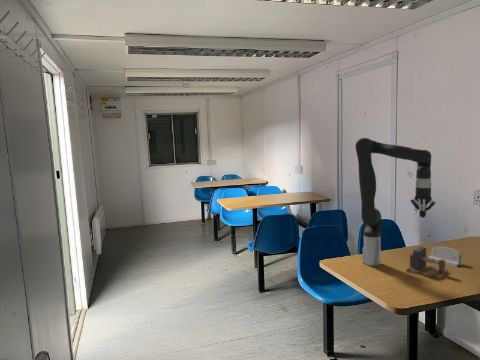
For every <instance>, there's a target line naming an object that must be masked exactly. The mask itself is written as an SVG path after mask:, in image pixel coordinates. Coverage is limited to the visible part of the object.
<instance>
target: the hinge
mask: <svg viewBox="0 0 480 360" xmlns="http://www.w3.org/2000/svg"><path fill="white" fill-rule="evenodd" d="M428 258H433V259H438V260H441V259H443V260H445V266H446V265H447V266H450V267H454V268H458V266H462V253H461V252H460V251H458V250H457V249H455V248H451V247H448V246H442V245H441V246H433V247H432V248H431V250H430V254H429V256H428Z"/></svg>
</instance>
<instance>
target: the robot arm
mask: <svg viewBox="0 0 480 360" xmlns="http://www.w3.org/2000/svg"><path fill="white" fill-rule="evenodd" d="M355 151H356V157H357V162H358V181H359V191H360V201H361V215H360V216H361V220H362V223H363V224H364V225H365V227H364V230H363V247H362V263H363V264H365V265H367V266H372V267H374V266H375V267H377V266H380V265H381V264H382V262H381V261H382V260H381V259H382V256H381V255H382V254H381V253H382V251H381V232H382V213H381V212H380V210H379V209H377V208H376V205H375V198H376V193H377V178H376V173H375V170H374V169H375V168H374V165H373V161H372V154H378V155H383V156H384V155H385V156H387V157H391V158H395V159H400V160H404V161H405V160H407V161H410V162H415V163H416V176H415V177H416V179H415V196H414V198H413V199H411V200H410V203H411V204H412V205H413V206H414V208H415V209H416V210H418V211H419V217H420V218H423V219H425V218H426V216H427V211H429V210H431V209H432V208H433V207H434V206H435V205H436V204H437V202H436V201H435V200H433V199H432V171H431V170H432V169H431V168H432V167H431V166H432V153H431V151H429V150H427V149H416V148H412V147H408V146H403V145H397V144H396V145H395V144H389V143H383V142H379V141H376V140H372V139H370V138H368V137H362V138H359V139H358V140H357V141H356V143H355ZM428 204H429V205H428Z"/></svg>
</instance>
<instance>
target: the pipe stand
mask: <svg viewBox="0 0 480 360" xmlns="http://www.w3.org/2000/svg"><path fill="white" fill-rule="evenodd" d="M421 261H426V263H430V264H431V263H432V264H434V265H435V264H437V265H438V267H436V266H431V265H427V264H426V265H425V266H424V267H423V268H421V269H420V270H417V269H413V253H411V254H409V267H407V268H406V272H407V273H413V274H417V275H422V276H424V277H425V276H426V277H430V278H434V279H438V280H441V279H442V278H443V277H444V276H445V275H447V274H448V273H449V269H447V268H446V264H445V260H443V259H441V260H438V259H433V258H429V256H428V257H427V256H426V257H423V256H421Z"/></svg>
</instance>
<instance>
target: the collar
mask: <svg viewBox="0 0 480 360" xmlns="http://www.w3.org/2000/svg"><path fill="white" fill-rule="evenodd" d="M412 254H413V269H417V270H420V269H421V268H423V267H424V266H425V265H427V262H426V261H421V256H423V257H427V247H424V246H419V247H417V248H416V249H414V250H412Z"/></svg>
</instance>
